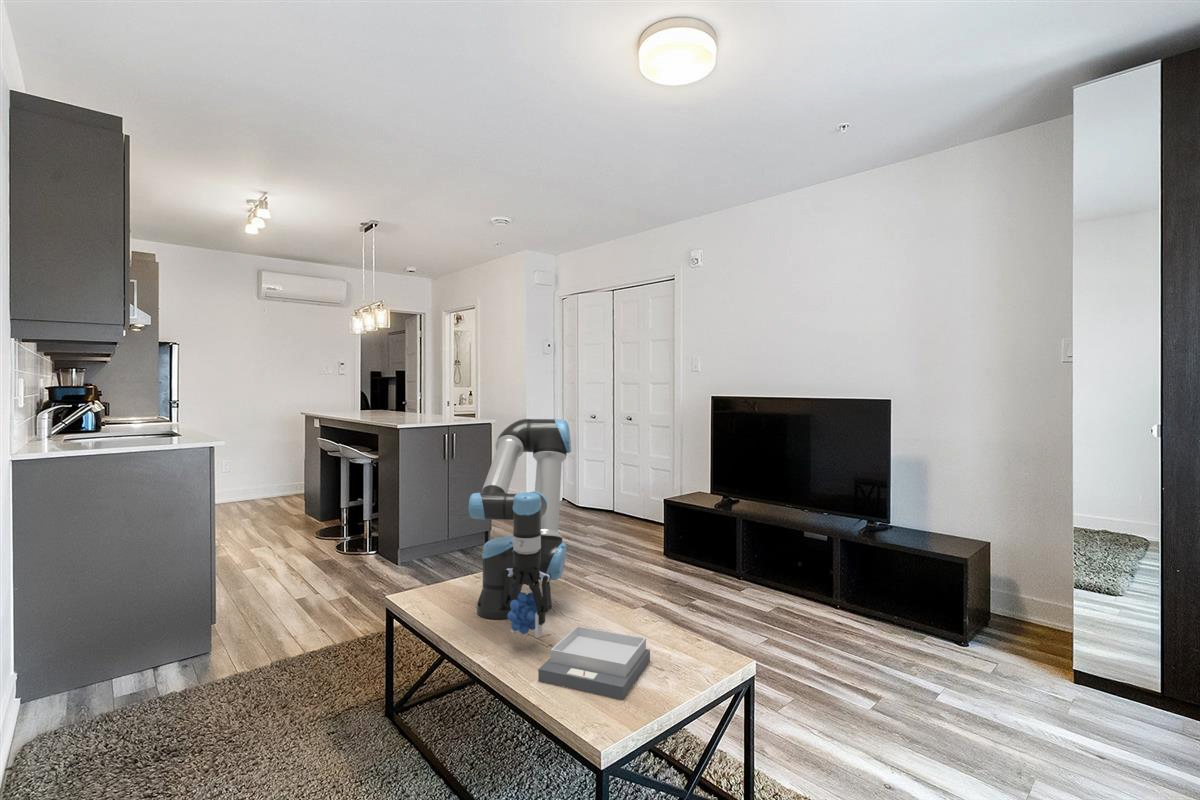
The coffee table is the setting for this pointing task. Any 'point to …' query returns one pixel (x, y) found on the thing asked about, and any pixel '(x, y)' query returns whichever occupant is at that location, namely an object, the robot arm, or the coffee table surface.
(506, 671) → the coffee table surface
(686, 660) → the coffee table surface
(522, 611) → the grapes
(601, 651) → the scale
